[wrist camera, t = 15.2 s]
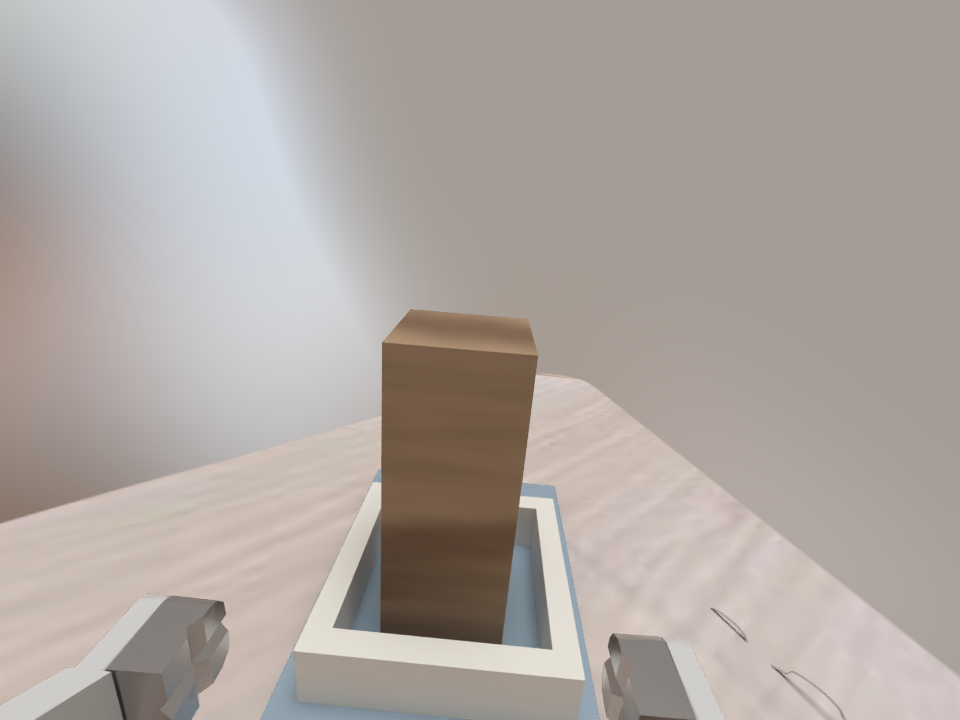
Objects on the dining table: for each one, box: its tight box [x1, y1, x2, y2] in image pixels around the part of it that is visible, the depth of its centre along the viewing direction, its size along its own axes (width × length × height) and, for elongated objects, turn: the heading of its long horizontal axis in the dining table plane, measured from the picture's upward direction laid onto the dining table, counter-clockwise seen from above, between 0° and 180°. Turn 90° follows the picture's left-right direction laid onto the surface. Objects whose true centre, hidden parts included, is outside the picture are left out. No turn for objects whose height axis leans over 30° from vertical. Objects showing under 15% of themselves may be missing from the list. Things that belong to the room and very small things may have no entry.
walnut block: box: [380, 309, 538, 645], centre depth 19 cm, size 5×5×13 cm
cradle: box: [260, 470, 600, 720], centre depth 22 cm, size 16×12×3 cm
